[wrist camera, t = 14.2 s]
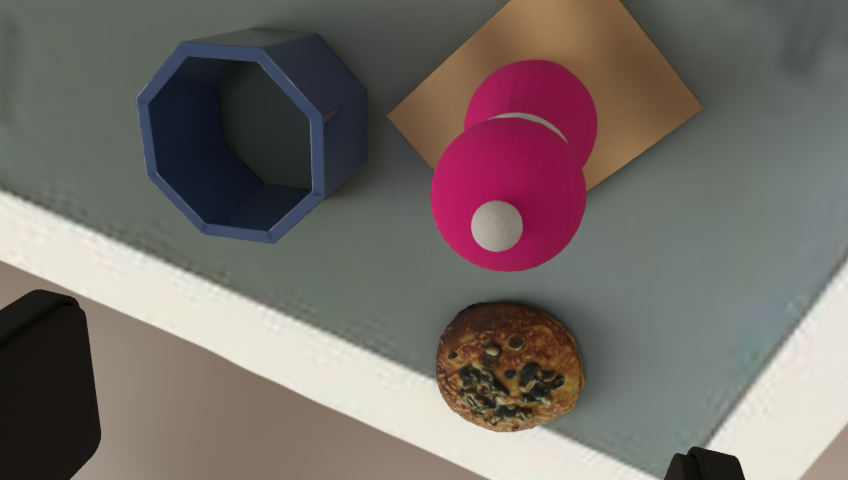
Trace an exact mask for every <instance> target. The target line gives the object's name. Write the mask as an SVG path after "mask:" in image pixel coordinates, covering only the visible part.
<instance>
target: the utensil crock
mask: <svg viewBox="0 0 848 480" xmlns="http://www.w3.org/2000/svg"><path fill="white" fill-rule="evenodd" d="M236 61H250V62H258V63H259V64H260V65H261V67H262V68H263V69H264V70H265V71H266V72H267V73H268V74H269V75H270V77H271V78H272V79H273V80H274V81H275V82H276V83H277V84H278V85H279V87H280V88H281V89H282V90H283V91H284V92H285V93H286V94H287V95H288V96H289V98H290V99H291V100H292V101H293V102H294V103H295V104H296V105H297V106H298V108H299V109H300V110H301V111H302V112H303V113H304V114H305V115H306V116H307V118H308V119H309V120H310V140H311V169H312V189H303V188H294V187H286V186H277V185H269V184H263V183H262V182H261V181H260V180H259V179H258V178H257V177H256V176H255V175H254V173H253V172H252V171H251V170H250V169H249V168H248V167H247V166H246V165H245V164H244V163H243V162H242V161H241V160H240V158H239V157H238V156H237V155H236V154H235V153H234V152H233V151H232V150H231V149H230V148H229V147H228V146H227V145H226V144H225V142H224V141H223V135H222V124H221V113H220V102H219V91H218V82H219V80H220V79H221V78H222V77H223V76H224V75H225V74H226V72H227V71H228V70H229V69H230V68H231V67H232V66H233V64H234V63H235V62H236ZM136 105H137V112H138V119H139V126H140V133H141V140H142V147H143V154H144V161H145V168H146V175H147V177H148V178H149V179H150V180H151V181H152V182H153V183H154V185H155V186H156V187H157V188H158V189H159V190H160V191H161V192H162V193H163V194H164V195H165V196H166V197H167V198H168V199H169V200H170V201H171V202H172V203H173V204H174V205H175V206H176V207H177V208H178V209H179V210H180V211H181V212H182V213H183V214H184V215H185V216H186V217H187V218H188V220H189V221H190V222H191V223H192V224H193V225H194V226H195V227H196V228H197V229H198V230H199V231H200V232H201V233H203V234H205V235H212V236H220V237H227V238H235V239H242V240H249V241H257V242H264V243H272V244H274V243H276V242H277V241H278V240H279V239H280V238H281V237H282V236H283V235H285V234H286V233H287V232H288V231H289V230H290V229H291V228H292V227H293V226H295V225H296V224H297V223H298V222H299V221H300V220H301V219H302V218H303V217H305V216H306V215H307V214H308V213H309V212H310V211H311V210H312V209H313V208H315V207H316V206H317V205H318V204H319V203H320V202H321V201H322V200H323V199H325V198H326V197H327V196H328V195H329V194H330V193H331V192H332V191H333V190H334V189H336V188H337V187H338V186H339V185H340V184H341V183H342V182H343V181H344V180H346V179H347V178H348V177H349V176H350V175H351V174H352V173H353V172H354V171H355V170H357V169H358V168H359V167H360V166H361V165H362V164H363V163H364V162H365V161H366V159H367V91H366V89H365V88H364V87H363V86H362V84H361V83H360V82H359V81H358V80H357V79H356V78H355V77H354V75H353V74H352V73H351V72H350V71H349V70H348V69H347V67H346V66H345V65H344V64H343V63H342V62H341V61H340V59H339V58H338V57H337V56H336V55H335V54H334V53H333V51H332V50H331V49H330V48H329V47H328V46H327V45H326V43H325V42H324V41H323V40H322V39H321V38H320V37H319V35H318V34H316V33H307V32H292V31H277V30H262V29H245V30H240V31H235V32H230V33H225V34H219V35H214V36H209V37H204V38H199V39H194V40H189V41H183V42H181V43H180V44H179V45H178V46H177V48H176V49H175V50H174V51H173V53H172V54H171V55H170V56H169V57H168V59H167V60H166V61H165V62H164V64H163V65H162V66H161V67H160V69H159V70H158V71H157V72H156V74H155V75H154V76H153V77H152V79H151V80H150V81H149V82H148V83H147V85H146V86H145V87H144V88H143V90H142V91H141V92H140V93H139V95H138V96H137V97H136Z"/></svg>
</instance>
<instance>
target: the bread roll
mask: <svg viewBox="0 0 848 480" xmlns="http://www.w3.org/2000/svg"><path fill="white" fill-rule="evenodd" d="M582 366H583V364H582V358H581V356H580V354H579V352H578V350H577V345H576V343H575V339H574V338H573V336H572V335H571V334H570V333H569V332H568V331H567V330H566V329H565V328H564V327H563V325H562V324H561V323H560V322H559V321H558V320H556V319H554V318H553V317H551V316H550V315H548V314H547V313H546V312H544V311H538V310H535V309H533V308H529V307H526V306H523V305H520V304H508V303H503V304H502V303H495V302H493V303H487V302H486V303H477V305H476V304H472V306H471V305H469V306H468V307H467V308H466V309H464V310H462V311H461V312H460V313H458V315H457V317H455V319H454V320H453V321H452V322H451V323H450V324H449V325H448V326H447V327H446V329H445V331H444V333H443V334H442V336H441V338H440V343H439V346H438V351H437V356H436V375H437V380H438V386H439V389H440V393H441V394H442V397H443V399H444V400H445V401H446V403H447V404H448V406H449V407H450V408H451V409H452V410H453V411H454V412H456V413H458V414H459V415H460V416H461V417H462V418H463V419H465V420H467V421H468V422H472V423H474V424H476V425H477V426H481V427H483V428H485V429H488V430H492V431H495V432H516V431H521V430H525V429H529V428H530V429H532V428H533V427H535V426H537V425H542V424H547V423H550V422H553V421H554V420H556V419H557V417H559V416H562V415H564V414H566V413H568V412H569V411H570V410H572V409H573V407H574V406H575V405H576V401H577V399H578V398H579V393H580V391H581V390H583V389H584V384H585V379H584V377H583V369H582Z"/></svg>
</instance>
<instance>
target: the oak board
mask: <svg viewBox="0 0 848 480" xmlns="http://www.w3.org/2000/svg"><path fill="white" fill-rule="evenodd" d="M525 60H547V61H550V62H554V63H557V64H559V65H561V66H563V67H564V68H566V69H567V70H569V71H570V72H571V73H572V74H574V75H575V76H576V77H577V78H578V79H579V80H580V81H581V82H582V83H583V84H584V86H585V87H586V88H587V90H588V91H589V93H590V95H591V97H592V99H593V101H594V105H595V109H596V113H597V123H598V127H597V136H596V140H595V143H594V147H593V149H592V152H591V155H590V157H589V159H588V160H587V162H586V164H585V165H584V167H583V168H582V170H583V173H584V177H585V181H586V193H587V192H588V191H589V190H591V189H592V188H594V187H595V186H596V185H598V184H599V183H601V182H602V181H603V180H605V179H606V178H608V177H609V176H610V175H612V174H613V173H615V172H616V171H617V170H619V169H620V168H621V167H623V166H624V165H626V164H627V163H628V162H630V161H631V160H633V159H634V158H635V157H637V156H638V155H640V154H641V153H642V152H644V151H645V150H647V149H648V148H649V147H651V146H652V145H654V144H655V143H656V142H658V141H659V140H661V139H662V138H663V137H665V136H666V135H668V134H669V133H670V132H672V131H673V130H675V129H676V128H677V127H679V126H680V125H682V124H683V123H684V122H686V121H687V120H688V119H690V118H691V117H693V116H694V115H695V114H697V113H698V112H700V111H701V110H702V109H703V107H702V105H701V104H700V103H699V101H698V100H697V99H696V98H695V96H694V95H693V94H692V92H691V91H690V90H689V89H688V87H687V86H686V85H685V83H684V82H683V81H682V80H681V78H680V77H679V76H678V74H677V73H676V72H675V71H674V69H673V68H672V67H671V65H670V64H669V63H668V62H667V60H666V59H665V58H664V56H663V55H662V54H661V53H660V51H659V50H658V49H657V47H656V46H655V45H654V44H653V42H652V41H651V40H650V38H649V37H648V36H647V35H646V33H645V32H644V31H643V29H642V28H641V27H640V26H639V24H638V23H637V22H636V20H635V19H634V18H633V17H632V15H631V14H630V13H629V11H628V10H627V9H626V8H625V6H624V5H623V4H622V2H621V1H620V0H510V1H509V2H508V3H507V4H506V5H505V6H504V7H503V8H502V9H501V10H499V11H498V12H497V13H496V14H495V15H494V16H493V17H492V18H491V19H490V20H489V21H488V22H487V23H485V24H484V25H483V26H482V27H481V28H480V29H479V30H478V31H477V32H476V33H475V34H474V35H473V36H471V37H470V38H469V39H468V40H467V41H466V42H465V43H464V44H463V45H462V46H461V47H460V48H458V49H457V50H456V51H455V52H454V53H453V54H452V55H451V56H450V57H449V58H448V59H447V60H446V61H444V62H443V63H442V64H441V65H440V66H439V67H438V68H437V69H436V70H435V71H434V72H433V73H431V74H430V75H429V76H428V77H427V78H426V79H425V80H424V81H423V82H422V83H421V84H420V85H419V86H417V87H416V88H415V89H414V90H413V91H412V92H411V93H410V94H409V95H408V96H407V97H406V98H405V99H403V100H402V101H401V102H400V103H399V104H398V105H397V106H396V107H395V108H394V109H393V110H392V111H390V112H389V113H388V114H387V115H386V117H387V118H388V119H389V120H390V121H391V122H392V124H393V125H394V126H395V127H396V128H397V129H398V130H399V132H400V133H401V134H402V135H403V136H404V137H405V138H406V140H407V141H408V142H409V143H410V144H411V145H412V146H413V147H414V149H415V150H416V151H417V152H418V153H419V154H420V155H421V157H422V158H423V159H424V160H425V161H426V162H427V163H428V165H429V166H430V167H431V168H432V169H433V170H434V171H435V168H436V166H437V163H438V161H439V159H440V157H441V156H442V154H443V152H444V151H445V149H446V148H447V147H448V146H449V144H450V143H451V142H452V141H453V140H454V139H455V138H456V137H458V136H459V135H460V134H461V133H463V132H464V121H465V117H466V113H467V109H468V106H469V103H470V101H471V98H472V97H473V95H474V93H475V91H476V90H477V88H478V87H479V86H480V84H481V83H482V82H483V81H484V80H485V79H486V78H487V77H488V76H489V75H491V74H492V73H494V72H495V71H496V70H498V69H500V68H502V67H504V66H506V65H508V64H511V63H515V62H518V61H525Z"/></svg>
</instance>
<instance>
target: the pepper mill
mask: <svg viewBox="0 0 848 480" xmlns="http://www.w3.org/2000/svg"><path fill="white" fill-rule="evenodd" d="M597 127H598V123H597V113H596V109H595V105H594V101H593V99H592V97H591V95H590V93H589V91H588V90H587V88H586V87H585V86H584V84H583V83H582V82H581V81H580V80H579V79H578V78H577V77H576V76H575V75H574V74H572V73H571V72H570V71H569V70H567V69H566V68H564V67H563V66H561V65H559V64H557V63H554V62H550V61H547V60H525V61H518V62H515V63H511V64H508V65H506V66H504V67H502V68H500V69H498V70H496V71H495V72H494V73H492V74H491V75H489V76H488V77H487V78H486V79H485V80H484V81H483V82H482V83H481V84H480V86H479V87H478V88H477V90H476V91H475V93H474V95H473V97H472V98H471V101H470V103H469V106H468V109H467V113H466V117H465V121H464V132H463V133H461V134H460V135H459V136H458V137H456V138H455V139H454V140H453V141H452V142H451V143H450V144H449V146H448V147H447V148H446V149H445V151H444V152H443V154H442V156H441V157H440V159H439V161H438V163H437V166H436V168H435V171H434V175H433V179H432V185H431V195H430V196H431V205H432V212H433V217H434V219H435V222H436V224H437V227H438V229H439V231H440V233H441V234H442V236H443V238H444V240H445V241H446V242H447V243H448V244H449V245H450V247H451V248H452V249H453V250H454V251H455V252H457V253H458V254H459V255H460V256H462V257H463V258H464V259H466V260H468V261H469V262H471V263H473V264H475V265H478V266H480V267H482V268H486V269H490V270H494V271H507V272H510V271H523V270H526V269H530V268H534V267H537V266H539V265H541V264H543V263H545V262H546V261H548V260H550V259H552V258H553V257H554V256H556V255H557V254H558V253H560V252H561V251H562V250H563V249H564V248H565V247H566V246H567V245H568V243H569V242H570V241H571V239H572V238H573V236H574V234H575V233H576V231H577V230H578V228H579V226H580V223H581V220H582V217H583V214H584V211H585V204H586V195H587V193H586V181H585V177H584V173H583V170H582V168H583V167H584V165H585V164H586V162H587V160H588V159H589V157H590V155H591V152H592V149H593V147H594V143H595V140H596V136H597Z"/></svg>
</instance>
